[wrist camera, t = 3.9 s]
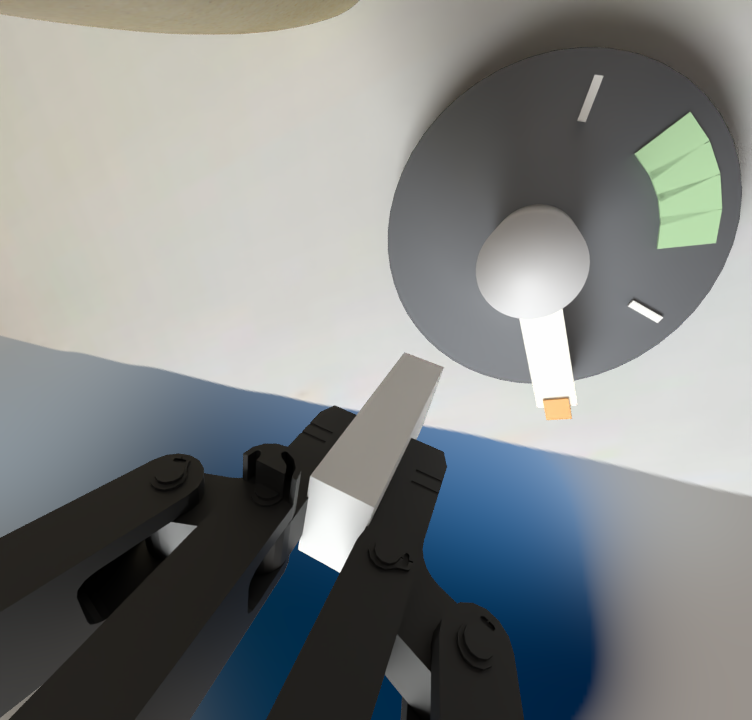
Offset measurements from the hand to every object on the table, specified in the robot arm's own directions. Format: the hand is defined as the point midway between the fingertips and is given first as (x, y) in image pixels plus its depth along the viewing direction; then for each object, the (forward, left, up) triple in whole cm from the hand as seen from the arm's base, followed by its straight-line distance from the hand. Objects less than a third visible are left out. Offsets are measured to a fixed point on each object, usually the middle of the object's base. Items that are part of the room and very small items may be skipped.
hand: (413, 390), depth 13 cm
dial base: (-2, -5, -9) cm, 11 cm away
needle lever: (-4, -2, -7) cm, 8 cm away
